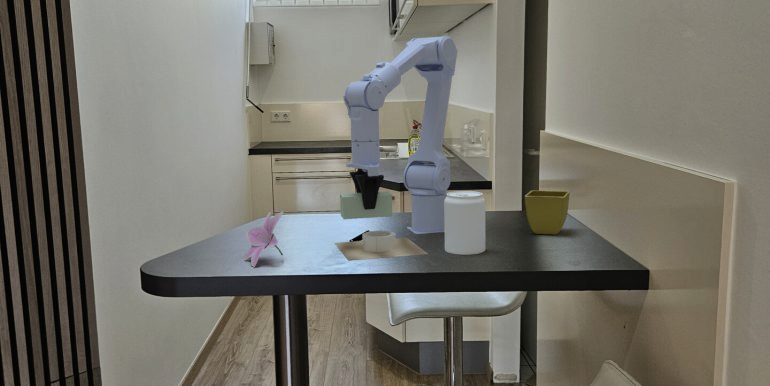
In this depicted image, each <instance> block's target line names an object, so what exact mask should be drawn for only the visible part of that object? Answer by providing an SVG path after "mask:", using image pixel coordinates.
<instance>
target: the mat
mask: <svg viewBox="0 0 770 386" xmlns="http://www.w3.org/2000/svg"><path fill="white" fill-rule="evenodd" d="M333 244H334V245H335V246H336V247H337V249H338V250H339V251H340V252H341V254H342V255H343V256H344V258H346V260H347V261H348V262H350V261H351V262H353V261H362V260H374V259H389V258H398V257H399V258H400V257H410V256H413V257H414V256H422V255H424V256H425V255H429V253H428V252H427V251H425V250H423V249H422V248H421V247H420V246H419V245H417V244H416V243H414V242H413V241H412V240H410V239H409V238H408V237H396V249H394V250H391V251H386V252H370V251H365V250H364V249H363V240H356V241H341V242H334V243H333Z"/></svg>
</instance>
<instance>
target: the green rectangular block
mask: <svg viewBox="0 0 770 386" xmlns="http://www.w3.org/2000/svg"><path fill="white" fill-rule="evenodd" d="M339 199H340V200H339V201H340V202H339V205H340V216H341V218H342V219H343V220H351V219H352V220H356V219H371V218H373V219H374V218H384V217H385V218H389V217H393V195H392V194H391V193H390V192H389V191H387V190H386V191H378V196H377V202H376V207H375V209H367V210H365V209H364V206H363V201H362V195H361V193H357V192H353V193H349V192H347V193H339Z"/></svg>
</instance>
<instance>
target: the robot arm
mask: <svg viewBox="0 0 770 386" xmlns="http://www.w3.org/2000/svg"><path fill="white" fill-rule="evenodd" d="M457 58H458V48H457V46H456V43H455V42H454V40H453V38H452V37H451V36H449V35H442V36H434V37H433V36H430V37H414V38H411V39H410V41H407V42H406V43H405V48H404V49H403V50H401V52H400V53H399V54H398V55H397V56H396V57H395V58H394V59H393V60H392V61H390V62H387V61H382V62H381V61H380V62H377V63H376V64H375V66H376V67H375V68H373V70H371V71H370V72H369V73H366V74H364V75H363V76H362V79H361V80H359V81H352V82H351V83H349V84H348V85H347V87H346V89H345V91H344V95H343V101H344V105H345V107H346V108H347V115H348V118H350V137H351V140H350V141H351V162H346V163H345V164H346V166H345V167H347V168H354V169H357V170H356V171H350V172H349V175H350V177H351V179H352V182H353V185H354V188H355V193H361V195H362V201H363V206H364V209H365V210H367V209H375V207H376V202H377V196H378V192H380V187H381V185H382V183H383V181H384V179H385V175H384V174H379V172H380V171H379V169H380V167H381V166H382V162H381V158H380V157H381V153H380V152H381V151H380V149H381V147H380V146H381V145H380V144H381V143H380V113H379V111H380V109H381V108H383V106H384V103H385V102H386V101H385V100H386V97H388V95H389V94H390V93H391V92H393V90H394V89H396V88H397V87H398V86H399V85H400V84H401V81H402V76H403V75H405V74H406V73H407V72H408V71H410V70H411V69H413V68H414V69H415V70H416V71H417V73H418V74H419V75H420V76H421V77H422V78H425V80H426V81H427V88H426V95H425V99H424V100H425V101H424V107H423V115H422V121H421V128H420V134H419V135H420V136H419V141H418V148H417V150H416V151H414V152H413V153H412V154H411V155H409V156H408V158H407V159H408V160H407V164H406V166H405V168H404V171H403V173H402V174H403V175H402V181H403V185H404V187H405V188H406V189H407V190H408V194H411V195H410V197H411V200H410V201H411V202H410V203H411V206H410V207H411V226H407V227H406V228H407V229H408V230H409V231H411V232H412V233H414V234H415V235H419V234H421V235H422V234H431V233H432V234H434V233H445V222H444V200H445V198H446V197H447V193H448V192H447V191H448V189H449V187H450V185H451V180H452V179H451V178H452V175H451V161H450V160H449V159H448V157H446V156H445V155H444V154H443V152H442V151H443V150H442V149H443V143H444V137H445V130H446V122H447V116H448V109H449V102H450V95H451V89H452V81H453V76H454V75H455V71H456V70H455V69H456V65H457V63H456V62H457Z"/></svg>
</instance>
